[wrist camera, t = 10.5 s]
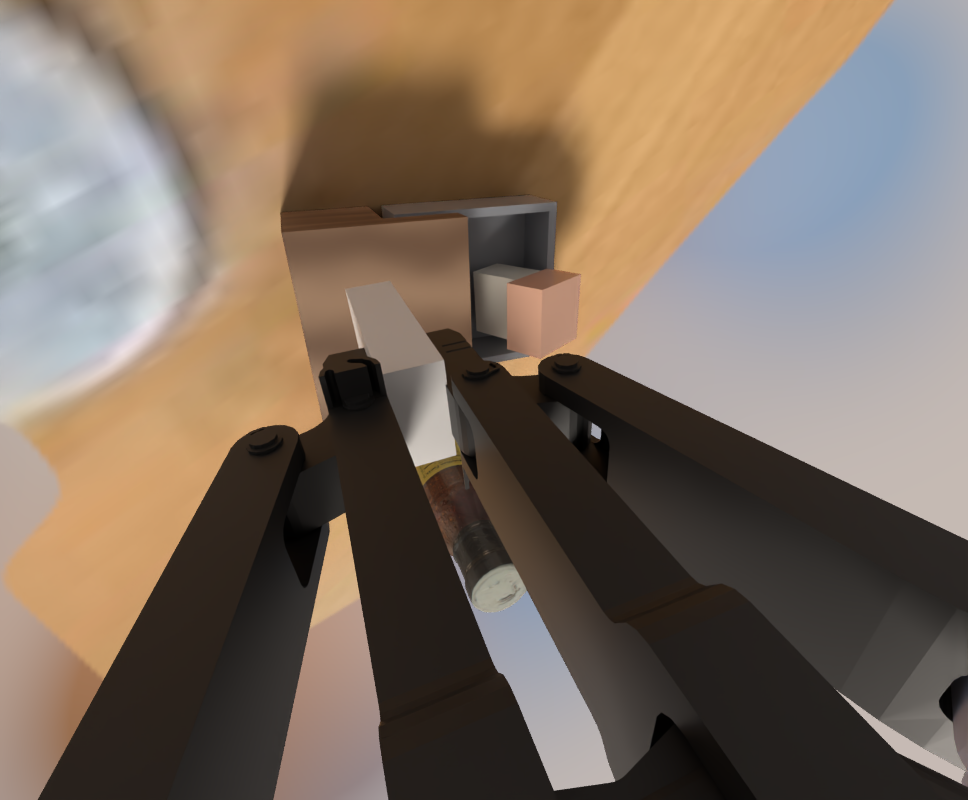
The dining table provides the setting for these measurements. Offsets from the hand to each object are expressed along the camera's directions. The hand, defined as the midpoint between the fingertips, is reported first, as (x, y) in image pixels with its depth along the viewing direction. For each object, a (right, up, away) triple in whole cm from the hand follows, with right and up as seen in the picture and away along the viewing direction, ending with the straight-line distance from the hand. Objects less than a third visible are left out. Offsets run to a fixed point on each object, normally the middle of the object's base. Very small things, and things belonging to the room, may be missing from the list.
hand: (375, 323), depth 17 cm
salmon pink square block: (+7, +4, +20) cm, 22 cm away
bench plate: (-5, +5, +22) cm, 23 cm away
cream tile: (+5, +5, +22) cm, 23 cm away
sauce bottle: (-2, -6, +30) cm, 30 cm away
